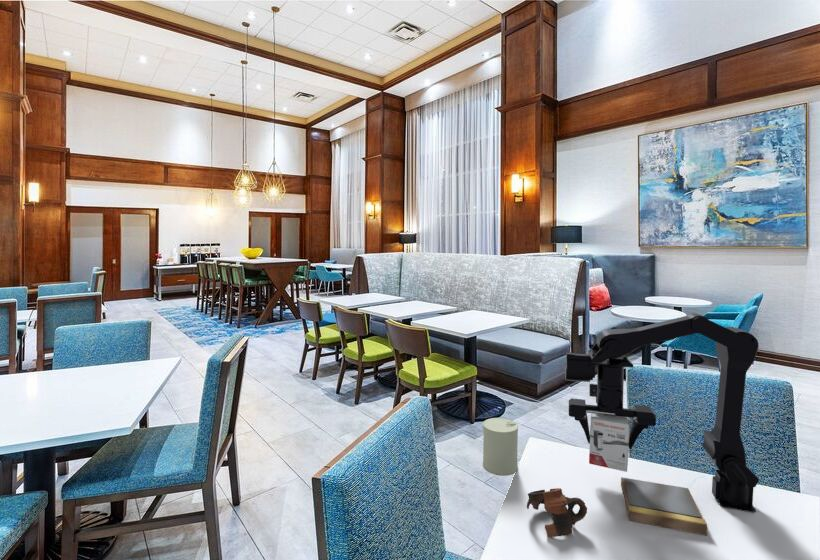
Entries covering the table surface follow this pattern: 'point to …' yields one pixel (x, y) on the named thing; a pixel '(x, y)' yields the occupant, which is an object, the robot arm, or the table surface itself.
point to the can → (500, 446)
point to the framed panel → (662, 506)
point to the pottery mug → (558, 510)
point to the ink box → (609, 441)
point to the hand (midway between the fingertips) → (609, 445)
